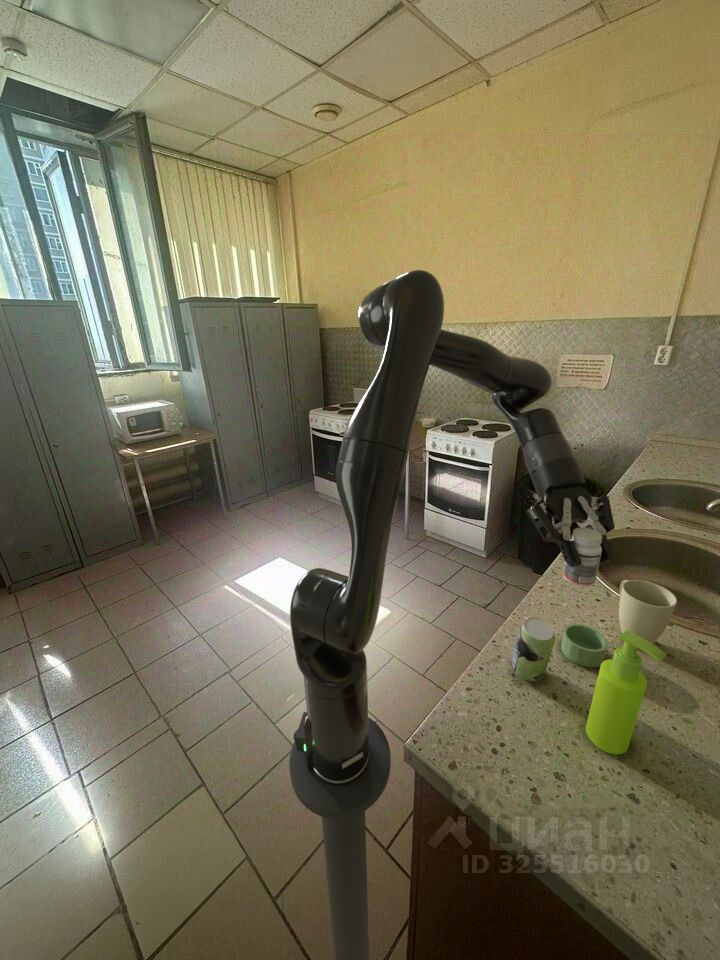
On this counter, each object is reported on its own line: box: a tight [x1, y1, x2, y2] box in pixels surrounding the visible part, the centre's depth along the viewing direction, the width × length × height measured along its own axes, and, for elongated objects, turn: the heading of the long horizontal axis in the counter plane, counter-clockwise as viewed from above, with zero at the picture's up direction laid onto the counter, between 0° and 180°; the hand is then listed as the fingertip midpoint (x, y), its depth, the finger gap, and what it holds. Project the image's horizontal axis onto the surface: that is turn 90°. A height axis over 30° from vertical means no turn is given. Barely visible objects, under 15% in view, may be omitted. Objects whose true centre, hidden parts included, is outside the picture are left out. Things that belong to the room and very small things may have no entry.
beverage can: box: [510, 617, 556, 682], centre depth 73 cm, size 6×7×12 cm
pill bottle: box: [562, 527, 602, 587], centre depth 63 cm, size 5×5×8 cm
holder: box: [560, 623, 608, 668], centre depth 79 cm, size 8×8×4 cm
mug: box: [618, 579, 678, 644], centre depth 82 cm, size 11×10×12 cm
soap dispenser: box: [585, 630, 668, 756], centre depth 59 cm, size 6×7×20 cm
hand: (591, 562), depth 61 cm, fingers closed on pill bottle, 4 cm apart
